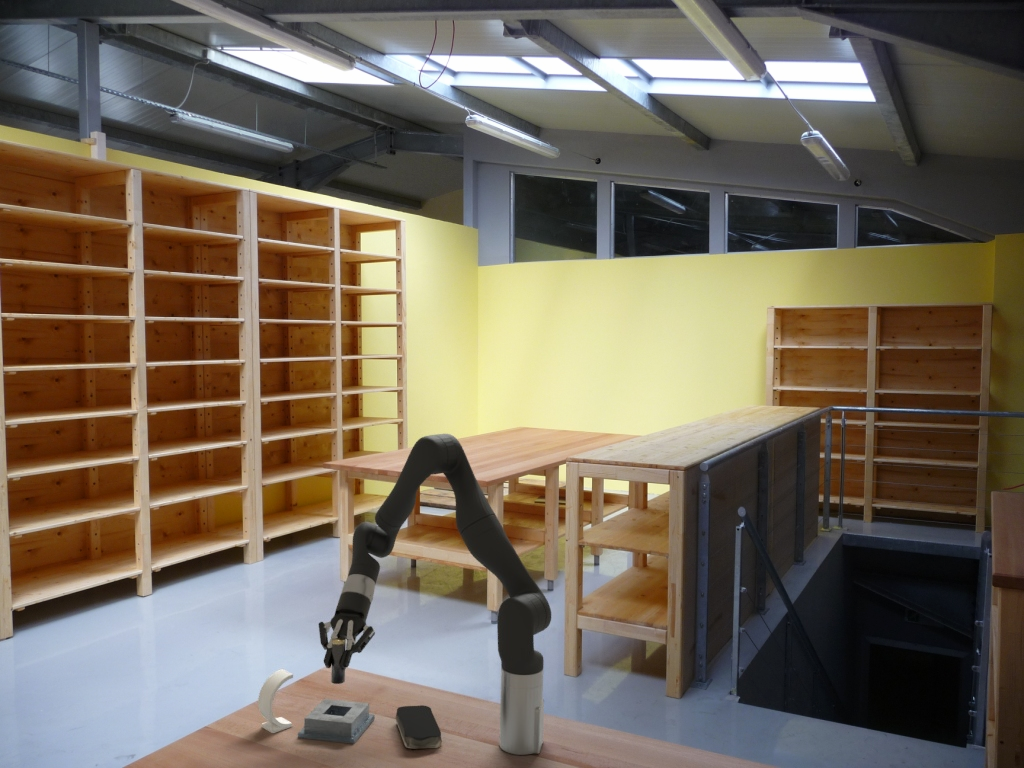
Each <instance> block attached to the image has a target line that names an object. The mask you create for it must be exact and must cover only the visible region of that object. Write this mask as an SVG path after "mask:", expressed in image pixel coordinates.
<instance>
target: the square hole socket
mask: <svg viewBox="0 0 1024 768" xmlns="http://www.w3.org/2000/svg"><path fill="white" fill-rule="evenodd" d="M375 715H376V714H371V713H370V702H369V703H368V702H362V701H361V702H360V701H359V702H358V701H350V700H342V699H341V700H340V699H332V698H331V699H330V698H324V699H323V700H322V701H321V702H319V703H318V704H317V705H316V707H314V708H313V710H311V711H310V712H309V713H308V714H307V715H306V716H305V717H304V722H303V724H304V726H303V728H302V729H300V731H298V733H297V738H299V739H307V740H308V739H309V740H316V741H317V740H318V741H325V742H332V743H333V742H334V743H343V744H350V745H351V744H352V745H353V744H355V743H356V742H357V741H358V740H359V738H360V737H361V736H363V733H364V732H365V731H366V730H367V729H368V727H370V725H371V724H372V723H373V721H374V720H375V718H376V717H375Z"/></svg>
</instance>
